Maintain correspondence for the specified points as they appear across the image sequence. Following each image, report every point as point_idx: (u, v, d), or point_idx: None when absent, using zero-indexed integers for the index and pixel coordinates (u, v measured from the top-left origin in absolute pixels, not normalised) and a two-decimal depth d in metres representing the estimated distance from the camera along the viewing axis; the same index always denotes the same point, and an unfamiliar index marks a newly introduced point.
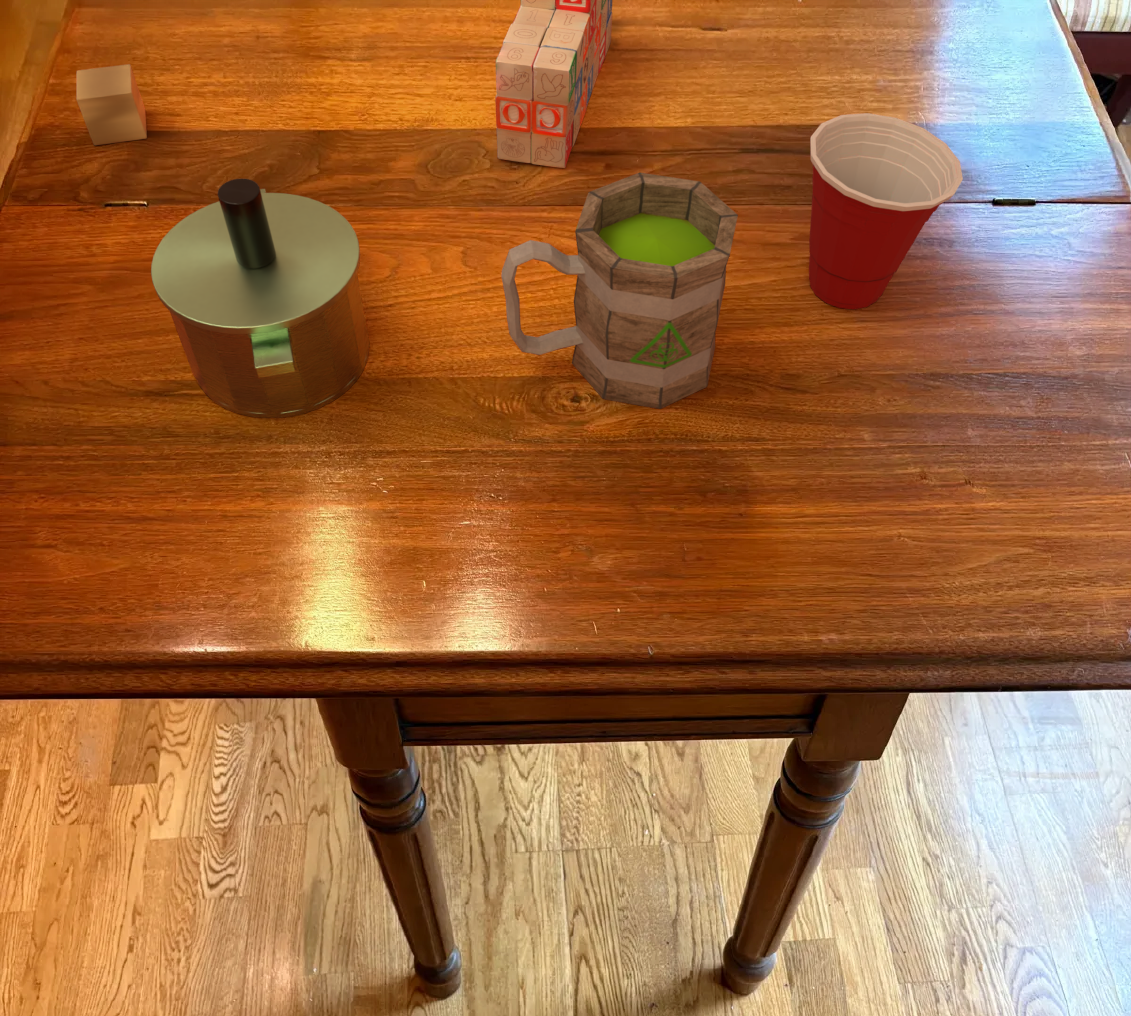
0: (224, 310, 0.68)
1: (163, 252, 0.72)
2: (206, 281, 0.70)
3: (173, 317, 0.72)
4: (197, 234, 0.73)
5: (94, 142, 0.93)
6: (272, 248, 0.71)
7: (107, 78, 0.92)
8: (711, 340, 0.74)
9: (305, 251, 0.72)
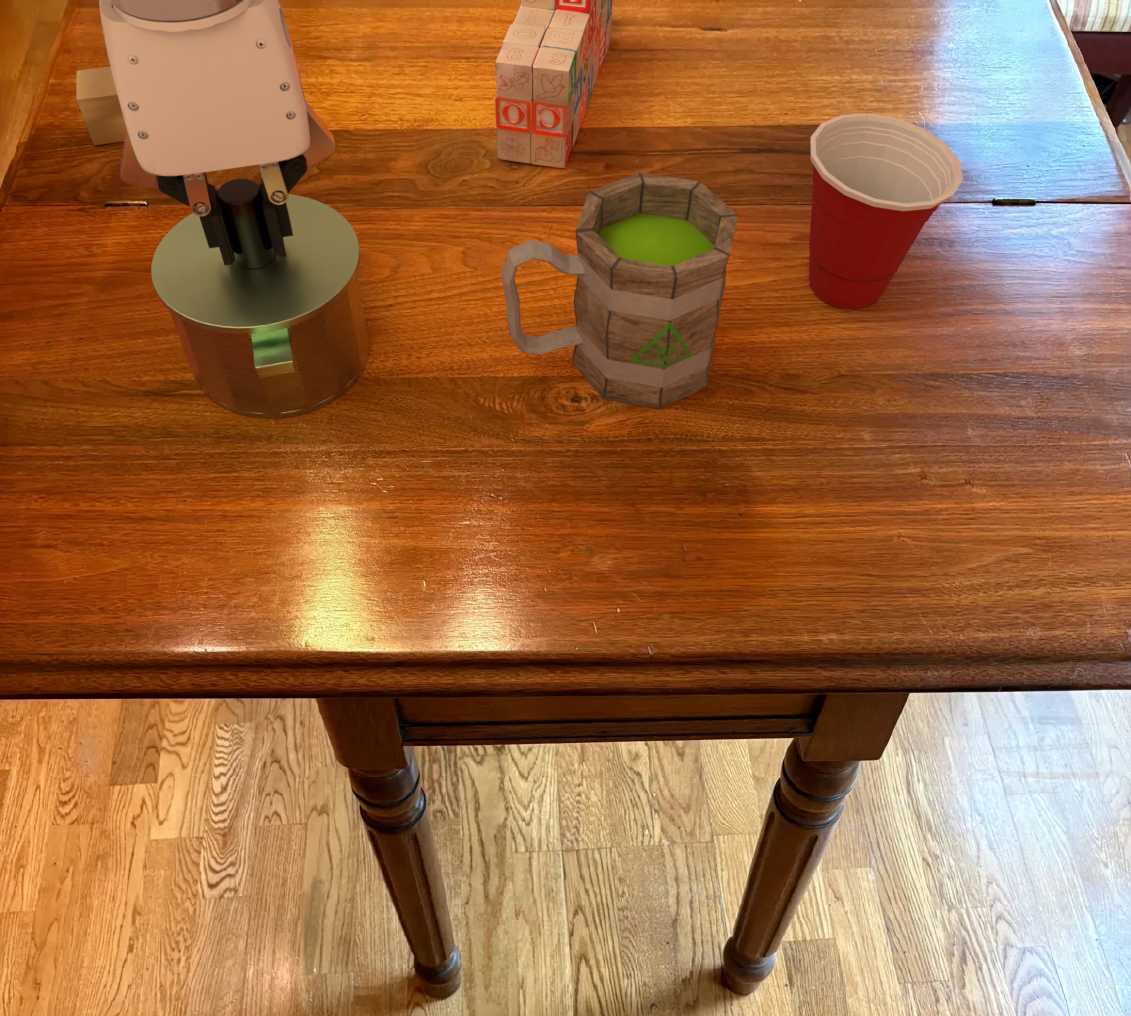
0: (224, 310, 0.68)
1: (163, 252, 0.72)
2: (206, 281, 0.70)
3: (173, 317, 0.72)
4: (197, 234, 0.73)
5: (94, 142, 0.93)
6: (272, 248, 0.71)
7: (107, 78, 0.92)
8: (711, 340, 0.74)
9: (305, 251, 0.72)
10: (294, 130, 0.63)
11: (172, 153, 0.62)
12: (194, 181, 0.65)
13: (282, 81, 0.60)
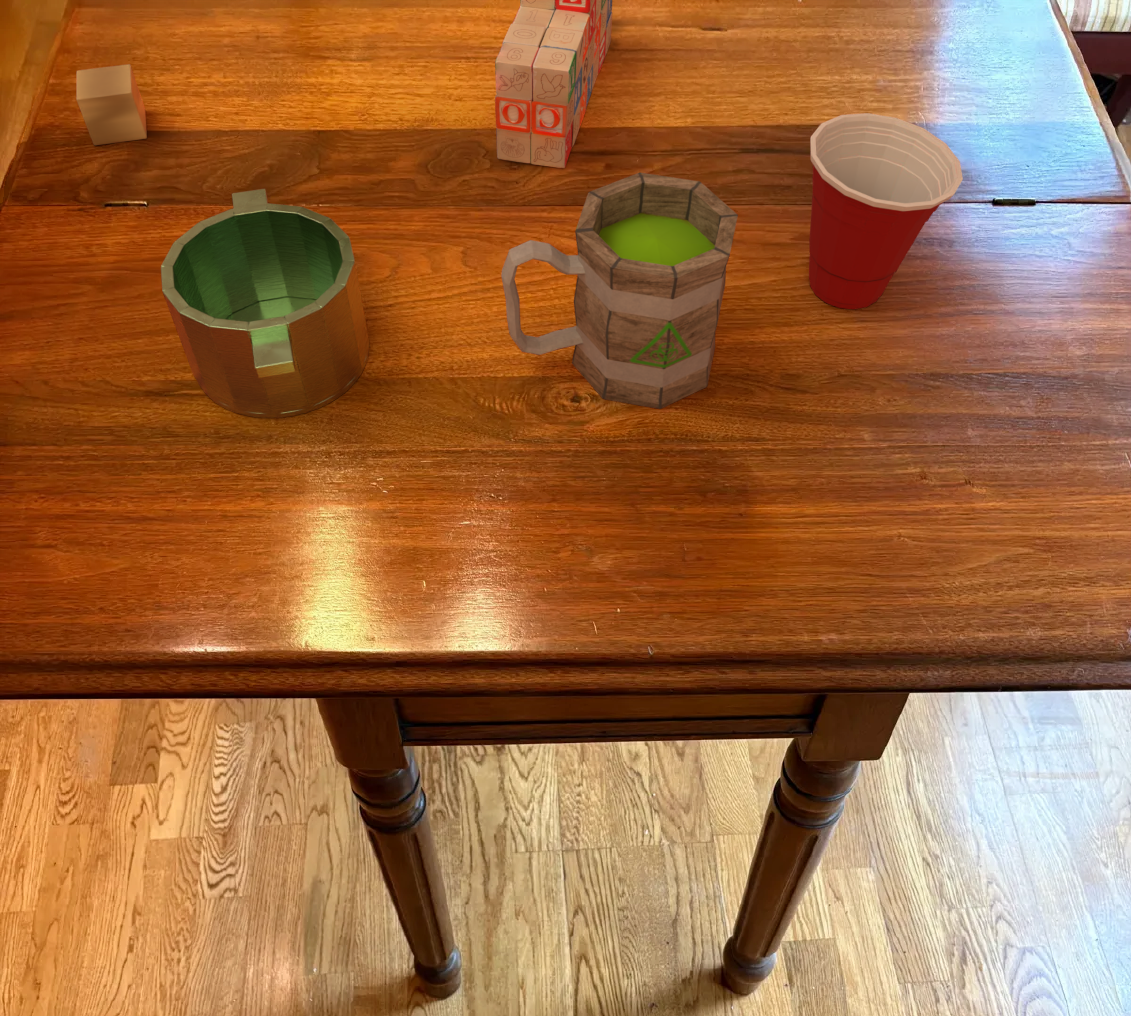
0: None
1: None
2: None
3: (173, 317, 0.72)
4: None
5: (94, 142, 0.93)
6: None
7: (107, 78, 0.92)
8: (711, 340, 0.74)
9: None
10: None
11: None
12: None
13: None
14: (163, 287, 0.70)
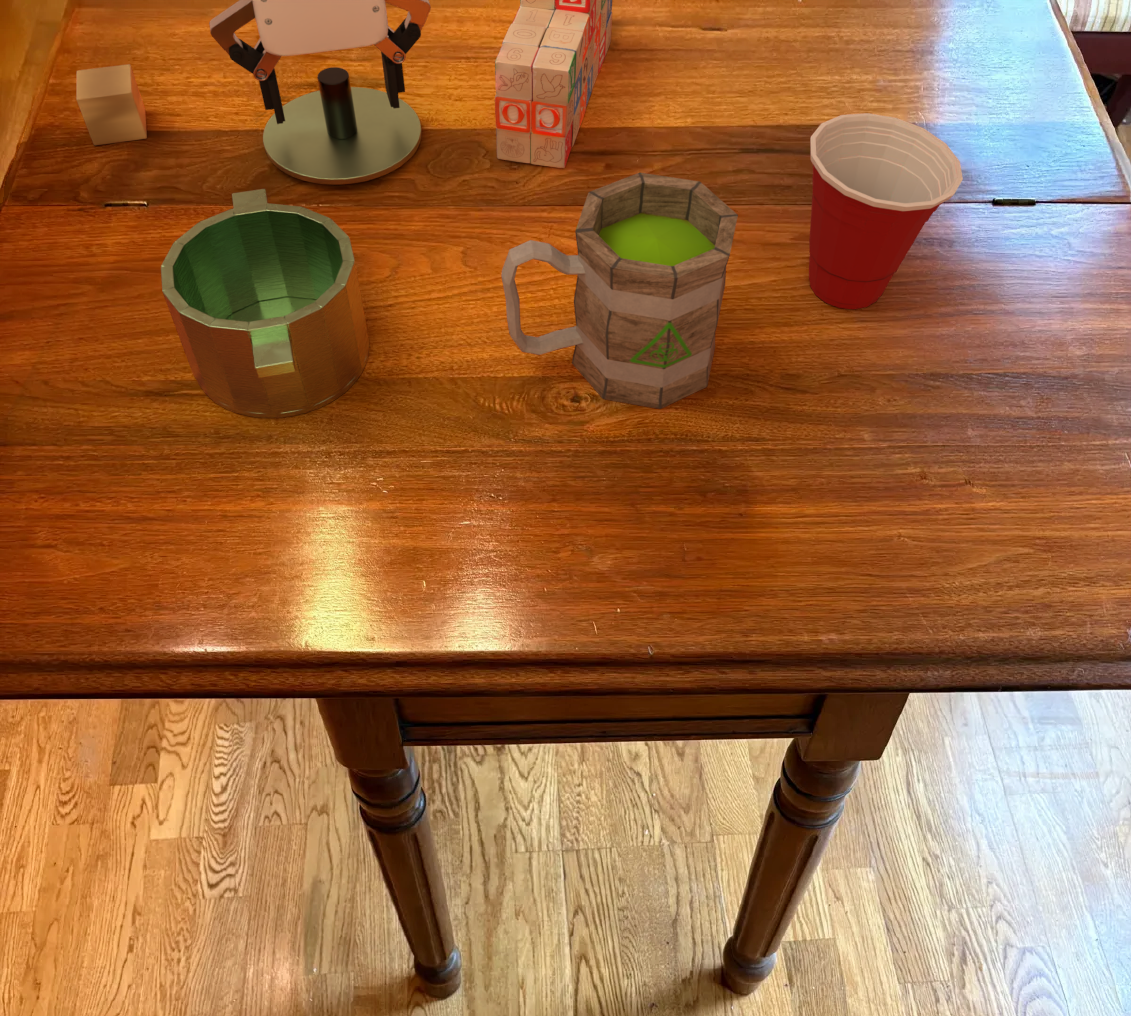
0: (321, 167, 0.90)
1: (271, 128, 0.94)
2: (306, 147, 0.92)
3: (173, 317, 0.72)
4: (296, 115, 0.95)
5: (94, 142, 0.93)
6: (355, 123, 0.93)
7: (107, 78, 0.92)
8: (711, 340, 0.74)
9: (379, 127, 0.94)
10: (377, 21, 0.85)
11: (288, 36, 0.84)
12: (273, 54, 0.85)
13: None
14: (163, 287, 0.70)
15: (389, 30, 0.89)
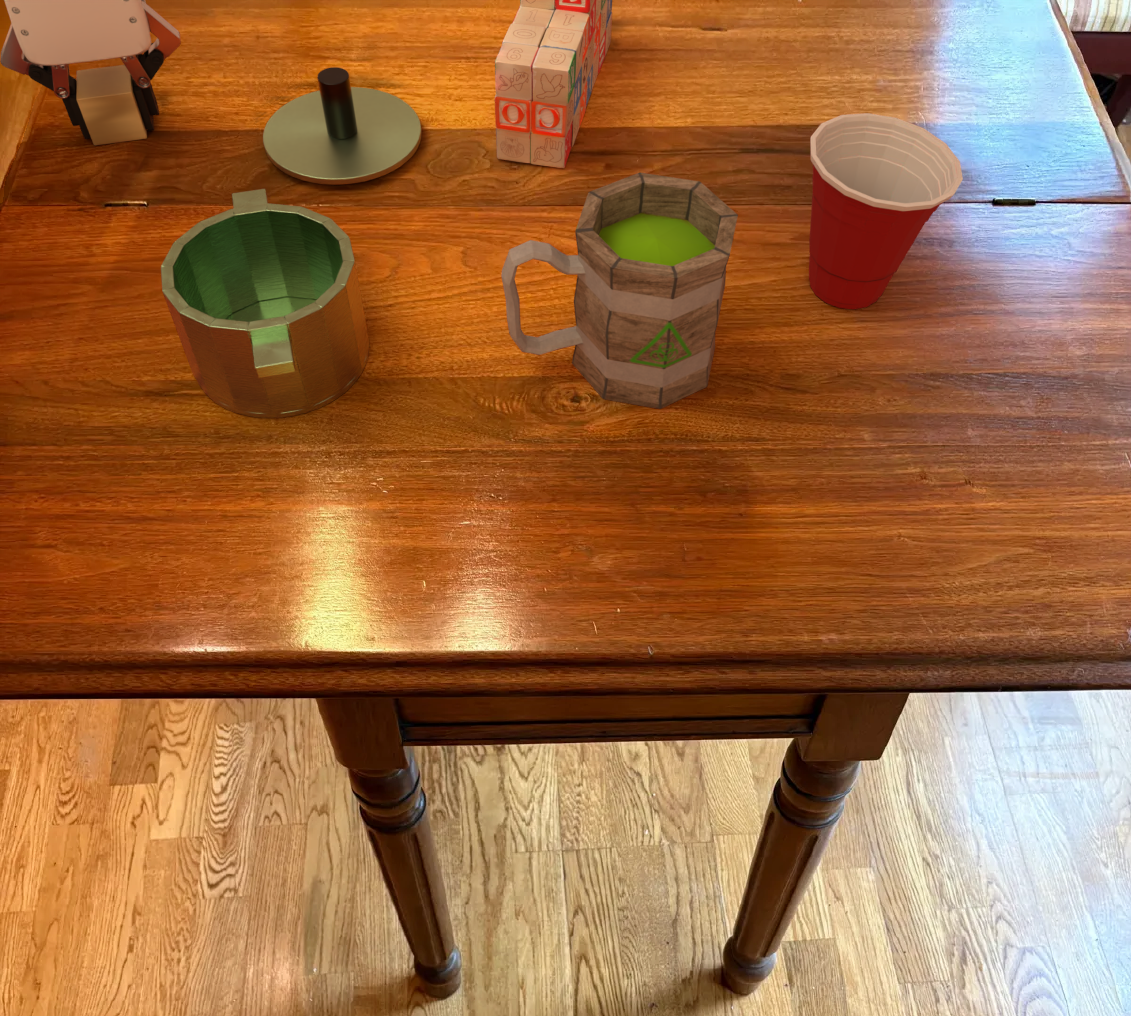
0: (321, 167, 0.90)
1: (271, 128, 0.94)
2: (306, 147, 0.92)
3: (173, 317, 0.72)
4: (296, 115, 0.95)
5: (94, 142, 0.93)
6: (355, 123, 0.93)
7: (107, 78, 0.92)
8: (711, 340, 0.74)
9: (379, 127, 0.94)
10: (137, 31, 0.87)
11: (47, 47, 0.86)
12: (59, 70, 0.89)
13: None
14: (163, 287, 0.70)
15: (141, 55, 0.92)
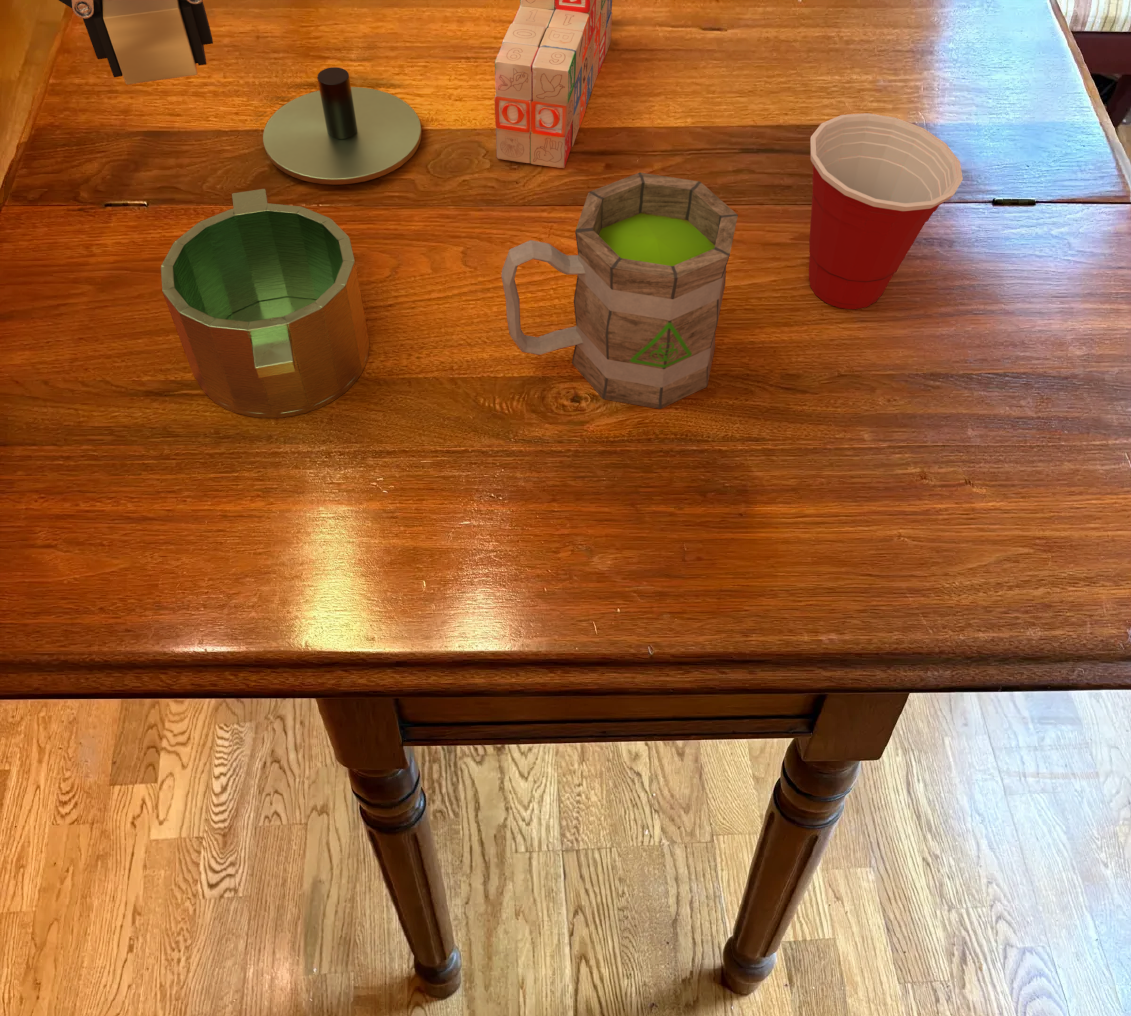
0: (321, 167, 0.90)
1: (271, 128, 0.94)
2: (306, 147, 0.92)
3: (173, 317, 0.72)
4: (296, 115, 0.95)
5: (127, 80, 0.69)
6: (355, 123, 0.93)
7: None
8: (711, 340, 0.74)
9: (379, 127, 0.94)
10: None
11: None
12: None
13: None
14: (163, 287, 0.70)
15: None
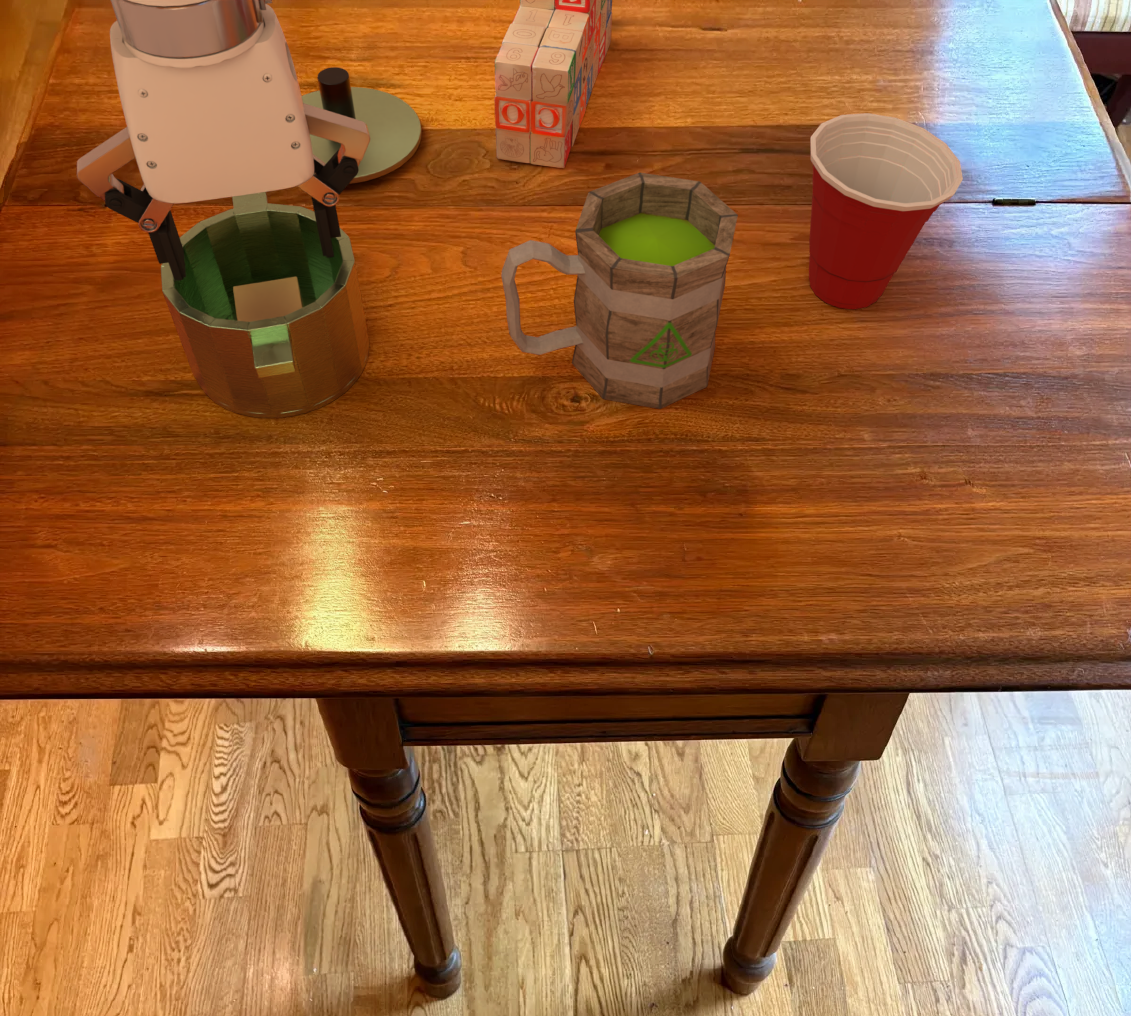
0: None
1: None
2: None
3: (173, 317, 0.72)
4: None
5: None
6: None
7: (272, 298, 0.75)
8: (711, 340, 0.74)
9: (379, 127, 0.94)
10: (299, 159, 0.65)
11: (180, 182, 0.64)
12: (162, 201, 0.65)
13: (287, 113, 0.62)
14: (163, 287, 0.70)
15: (318, 163, 0.68)
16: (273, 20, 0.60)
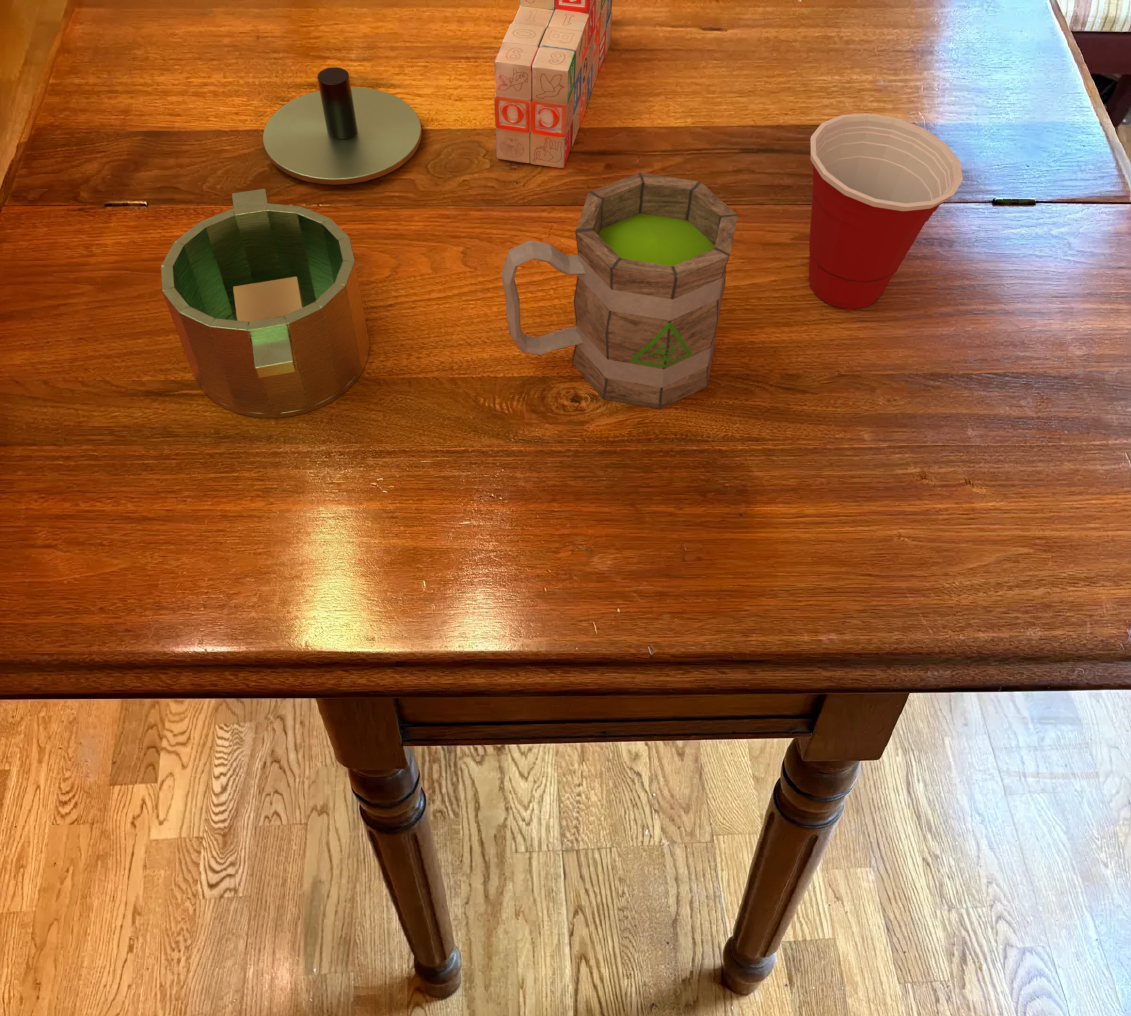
0: (321, 167, 0.90)
1: (271, 128, 0.94)
2: (306, 147, 0.92)
3: (173, 317, 0.72)
4: (296, 115, 0.95)
5: None
6: (355, 123, 0.93)
7: (272, 298, 0.75)
8: (711, 340, 0.74)
9: (379, 127, 0.94)
10: None
11: None
12: None
13: None
14: (163, 287, 0.70)
15: None
16: None
